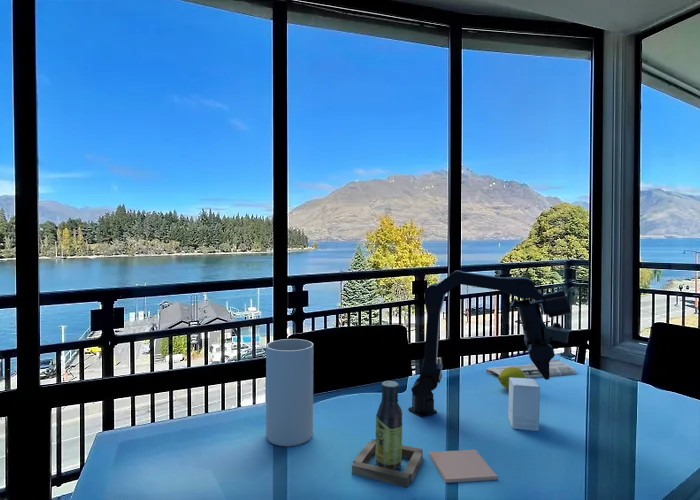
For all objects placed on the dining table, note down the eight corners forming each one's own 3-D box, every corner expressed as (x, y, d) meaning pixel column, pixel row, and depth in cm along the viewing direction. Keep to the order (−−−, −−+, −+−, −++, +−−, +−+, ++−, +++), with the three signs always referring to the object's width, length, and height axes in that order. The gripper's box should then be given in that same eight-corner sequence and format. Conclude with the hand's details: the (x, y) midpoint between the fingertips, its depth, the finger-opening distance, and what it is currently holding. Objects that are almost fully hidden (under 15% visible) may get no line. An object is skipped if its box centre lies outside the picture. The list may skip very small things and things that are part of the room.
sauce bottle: (373, 458, 105) (374, 378, 105) (398, 457, 106) (399, 377, 105) (377, 473, 99) (378, 387, 98) (404, 472, 99) (405, 387, 99)
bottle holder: (371, 446, 112) (371, 438, 111) (424, 457, 106) (424, 449, 106) (349, 473, 99) (349, 464, 99) (409, 488, 93) (409, 478, 93)
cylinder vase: (320, 430, 120) (320, 341, 119) (300, 451, 109) (301, 353, 108) (280, 423, 124) (280, 337, 124) (257, 443, 113) (257, 348, 112)
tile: (429, 455, 107) (429, 452, 107) (475, 452, 109) (475, 449, 109) (445, 482, 95) (445, 479, 95) (497, 479, 97) (497, 476, 97)
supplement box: (539, 431, 121) (540, 387, 120) (511, 428, 122) (512, 384, 122) (533, 420, 128) (534, 378, 127) (507, 418, 129) (508, 376, 129)
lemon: (519, 385, 158) (520, 363, 158) (532, 393, 150) (532, 370, 150) (492, 386, 156) (492, 365, 156) (503, 394, 148) (503, 371, 148)
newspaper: (501, 382, 162) (501, 373, 162) (483, 372, 174) (483, 363, 174) (578, 375, 171) (579, 366, 171) (556, 366, 183) (556, 357, 183)
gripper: (567, 321, 112) (583, 381, 111) (557, 309, 129) (570, 361, 129) (522, 329, 115) (537, 386, 114) (518, 316, 133) (531, 366, 132)
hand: (545, 374), depth 122 cm, fingers open, 9 cm apart
